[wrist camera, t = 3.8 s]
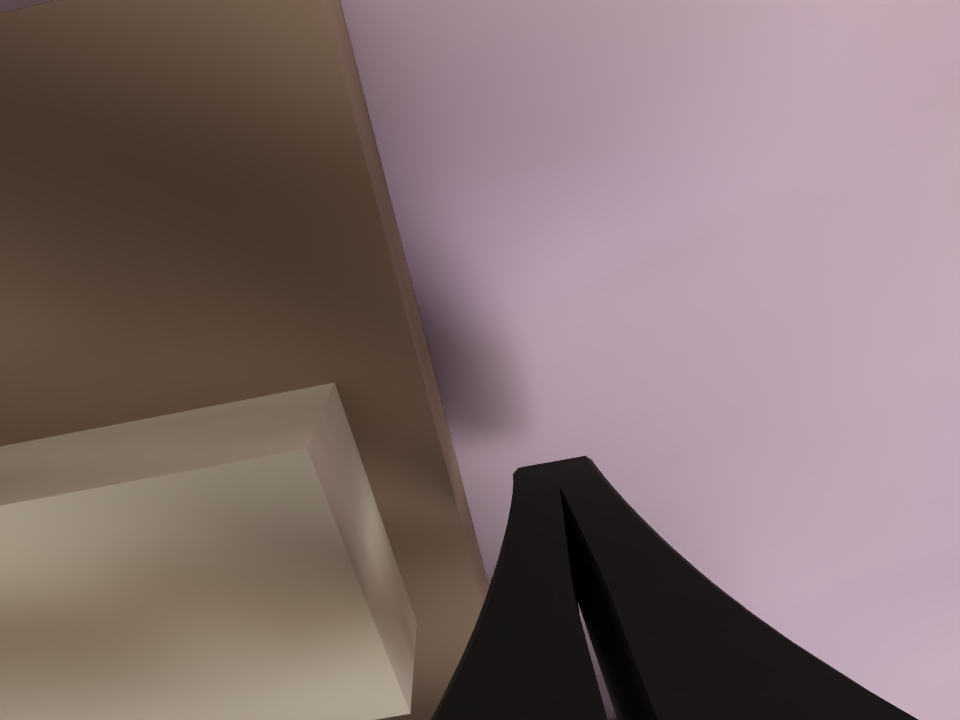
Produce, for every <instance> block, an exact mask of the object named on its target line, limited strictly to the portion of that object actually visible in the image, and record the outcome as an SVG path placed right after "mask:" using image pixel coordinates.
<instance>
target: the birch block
mask: <svg viewBox="0 0 960 720" xmlns="http://www.w3.org/2000/svg"><path fill="white" fill-rule="evenodd" d="M416 628H417V621H416V618H415V615H414V612H413V609H412V606H411V603H410V600H409V597H408V595H407V592H406V589H405V586H404V583H403V580H402V577H401V574H400V571H399V568H398V565H397V562H396V560H395V557H394V554H393V551H392V548H391V545H390V542H389V539H388V536H387V533H386V530H385V528H384V525H383V522H382V519H381V516H380V513H379V510H378V507H377V504H376V501H375V498H374V495H373V493H372V490H371V487H370V484H369V481H368V478H367V475H366V472H365V469H364V466H363V463H362V461H361V458H360V455H359V452H358V449H357V446H356V443H355V440H354V437H353V434H352V431H351V428H350V426H349V423H348V420H347V417H346V414H345V411H344V408H343V405H342V402H341V399H340V396H339V394H338V391H337V388H336V385H335V383H330V384H325V385H320V386H314V387H309V388H304V389H299V390H293V391H288V392H283V393H278V394H272V395H267V396H262V397H257V398H252V399H246V400H241V401H236V402H231V403H225V404H220V405H215V406H210V407H204V408H199V409H194V410H189V411H184V412H178V413H173V414H168V415H163V416H157V417H152V418H147V419H142V420H137V421H131V422H126V423H121V424H116V425H110V426H105V427H100V428H95V429H89V430H84V431H79V432H74V433H69V434H63V435H58V436H53V437H48V438H42V439H37V440H32V441H27V442H21V443H16V444H11V445H6V446H1V447H0V720H376V719H382V718H388V717H394V716H400V715H406V714H410V711H411V697H412V683H413V670H414V656H415V642H416Z"/></svg>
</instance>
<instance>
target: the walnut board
mask: <svg viewBox="0 0 960 720" xmlns="http://www.w3.org/2000/svg"><path fill="white" fill-rule="evenodd" d="M330 383H335V385H336V388H337V391H338V394H339V396H340V399H341V402H342V405H343V408H344V411H345V414H346V417H347V420H348V423H349V426H350V428H351V431H352V434H353V437H354V440H355V443H356V446H357V449H358V452H359V455H360V458H361V461H362V463H363V466H364V469H365V472H366V475H367V478H368V481H369V484H370V487H371V490H372V493H373V495H374V498H375V501H376V504H377V507H378V510H379V513H380V516H381V519H382V522H383V525H384V528H385V530H386V533H387V536H388V539H389V542H390V545H391V548H392V551H393V554H394V557H395V560H396V562H397V565H398V568H399V571H400V574H401V577H402V580H403V583H404V586H405V589H406V592H407V595H408V597H409V600H410V603H411V606H412V609H413V612H414V615H415V618H416V621H417V628H416V642H415V656H414V670H413V683H412V697H411V711H410V714H406V715H400V716H394V717H388V718H382V719H376V720H431V718H432V716H433V714H434V712H435V710H436V709H437V707H438V705H439V703H440V701H441V699H442V697H443V695H444V693H445V691H446V689H447V686H448V684H449V682H450V680H451V678H452V676H453V674H454V672H455V670H456V668H457V666H458V664H459V662H460V660H461V657H462V655H463V653H464V651H465V648H466V646H467V644H468V641H469V639H470V637H471V634H472V632H473V630H474V627H475V625H476V622H477V620H478V617H479V614H480V612H481V609H482V607H483V604H484V601H485V598H486V595H487V592H488V589H489V586H488V582H487V578H486V575H485V571H484V567H483V563H482V559H481V555H480V551H479V547H478V543H477V539H476V535H475V531H474V527H473V523H472V519H471V515H470V511H469V508H468V504H467V500H466V496H465V492H464V488H463V484H462V480H461V476H460V472H459V468H458V464H457V460H456V456H455V452H454V448H453V444H452V440H451V437H450V433H449V429H448V425H447V421H446V417H445V413H444V409H443V405H442V401H441V397H440V393H439V389H438V385H437V381H436V377H435V373H434V370H433V366H432V362H431V358H430V354H429V350H428V346H427V342H426V338H425V334H424V330H423V326H422V322H421V318H420V314H419V310H418V306H417V302H416V299H415V295H414V291H413V287H412V283H411V279H410V275H409V271H408V267H407V263H406V259H405V255H404V251H403V247H402V243H401V239H400V235H399V231H398V228H397V224H396V220H395V216H394V212H393V208H392V204H391V200H390V196H389V192H388V188H387V184H386V180H385V176H384V172H383V168H382V164H381V161H380V157H379V153H378V149H377V145H376V141H375V137H374V133H373V129H372V125H371V121H370V117H369V113H368V109H367V105H366V101H365V97H364V93H363V90H362V86H361V82H360V78H359V74H358V70H357V66H356V62H355V58H354V54H353V50H352V46H351V42H350V38H349V34H348V30H347V26H346V23H345V19H344V15H343V11H342V7H341V3H340V0H56V1H51V2H47V3H43V4H38V5H34V6H29V7H25V8H20V9H16V10H12V11H7V12H3V13H0V447H1V446H6V445H11V444H16V443H21V442H27V441H32V440H37V439H42V438H48V437H53V436H58V435H63V434H69V433H74V432H79V431H84V430H89V429H95V428H100V427H105V426H110V425H116V424H121V423H126V422H131V421H137V420H142V419H147V418H152V417H157V416H163V415H168V414H173V413H178V412H184V411H189V410H194V409H199V408H204V407H210V406H215V405H220V404H225V403H231V402H236V401H241V400H246V399H252V398H257V397H262V396H267V395H272V394H278V393H283V392H288V391H293V390H299V389H304V388H309V387H314V386H320V385H325V384H330Z"/></svg>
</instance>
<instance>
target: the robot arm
mask: <svg viewBox="0 0 960 720" xmlns="http://www.w3.org/2000/svg"><path fill="white" fill-rule="evenodd" d="M578 603H579V606H580V609H581V612H582V615H583V618H584V621H585V624H586V627H587V630H588V633H589V636H590V639H591V642H592V645H593V648H594V651H595V654H596V657H597V660H598V663H599V666H600V669H601V672H602V675H603V678H604V681H605V684H606V687H607V690H608V693H609V696H610V698H611V701H612V704H613V707H614V710H615V713H616V716H617V719H618V720H918V719H916V718H914V717H913V716H911V715H909V714H908V713H906V712H904V711H902V710H901V709H899V708H897V707H896V706H894V705H892V704H890V703H889V702H887V701H885V700H884V699H882V698H880V697H878V696H877V695H875V694H873V693H872V692H870V691H868V690H867V689H865V688H864V687H862V686H861V685H859V684H857V683H856V682H854V681H853V680H851V679H850V678H848V677H846V676H845V675H843V674H842V673H840V672H839V671H837V670H836V669H834V668H832V667H831V666H829V665H828V664H826V663H825V662H823V661H822V660H820V659H818V658H817V657H815V656H814V655H812V654H811V653H809V652H807V651H806V650H804V649H803V648H801V647H800V646H798V645H797V644H795V643H793V642H792V641H791V640H789V639H788V638H786V637H785V636H783V635H782V634H781V633H779V632H778V631H776V630H775V629H774V628H772V627H771V626H769V625H768V624H767V623H765V622H764V621H762V620H761V619H760V618H758V617H757V616H755V615H754V614H753V613H751V612H750V611H749V610H747V609H746V608H745V607H743V606H742V605H741V604H739V603H738V602H737V601H736V600H734V599H733V598H732V597H730V596H729V595H728V594H726V593H725V592H724V591H723V590H721V589H720V588H719V587H718V586H716V585H715V584H714V583H713V582H711V581H710V580H709V579H708V578H707V577H705V576H704V575H703V574H702V573H701V572H699V571H698V570H697V569H696V568H695V567H694V566H693V565H691V564H690V563H689V562H688V561H687V560H686V559H685V558H683V557H682V556H681V555H680V554H679V553H678V552H677V551H676V550H674V549H673V548H672V547H671V546H670V545H669V544H668V543H667V542H666V541H665V540H664V539H663V538H662V537H661V536H659V535H658V534H657V533H656V532H655V531H654V530H653V529H652V528H651V527H650V526H649V525H648V524H647V523H646V522H645V521H644V520H643V519H642V518H641V517H640V516H639V515H638V514H637V513H636V512H635V511H634V509H633V508H632V507H631V506H630V505H629V504H628V503H627V502H626V501H625V500H624V499H623V498H622V497H621V495H620V494H619V493H618V492H617V491H616V490H615V489H614V488H613V486H612V485H611V484H610V483H609V482H608V481H607V479H606V478H605V477H604V476H603V474H602V473H601V472H600V471H599V469H598V468H597V467H596V465H595V464H594V462H593V461H592V460H591V459H589V458H588V457H586V456H582V457H576V458H571V459H565V460H560V461H554V462H549V463H543V464H537V465H532V466H526V467H521V468H518V469H517V470H516V471H515V473H514V474H513V494H512V502H511V508H510V513H509V518H508V523H507V527H506V531H505V535H504V539H503V543H502V547H501V551H500V555H499V558H498V562H497V565H496V568H495V571H494V574H493V577H492V580H491V583H490V586H489V589H488V592H487V595H486V598H485V601H484V604H483V607H482V609H481V612H480V614H479V617H478V620H477V622H476V625H475V627H474V630H473V632H472V634H471V637H470V639H469V641H468V644H467V646H466V648H465V651H464V653H463V655H462V657H461V660H460V662H459V664H458V666H457V668H456V670H455V672H454V674H453V676H452V678H451V680H450V682H449V684H448V686H447V689H446V691H445V693H444V695H443V697H442V699H441V701H440V703H439V705H438V707H437V709H436V710H435V712H434V714H433V716H432V718H431V720H607V717H606V713H605V709H604V706H603V702H602V698H601V694H600V691H599V687H598V683H597V680H596V676H595V672H594V668H593V665H592V661H591V657H590V653H589V650H588V646H587V642H586V638H585V635H584V631H583V627H582V623H581V619H580V615H579V608H578Z"/></svg>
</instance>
